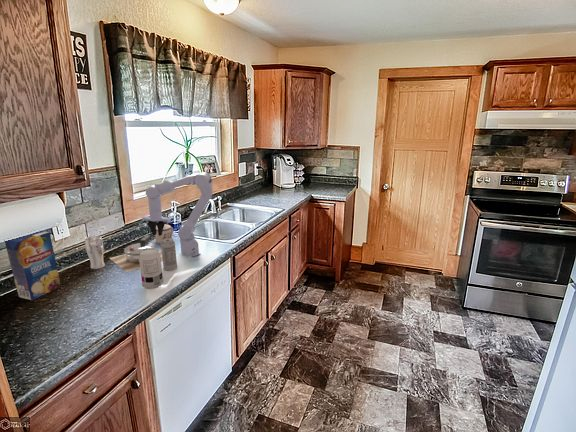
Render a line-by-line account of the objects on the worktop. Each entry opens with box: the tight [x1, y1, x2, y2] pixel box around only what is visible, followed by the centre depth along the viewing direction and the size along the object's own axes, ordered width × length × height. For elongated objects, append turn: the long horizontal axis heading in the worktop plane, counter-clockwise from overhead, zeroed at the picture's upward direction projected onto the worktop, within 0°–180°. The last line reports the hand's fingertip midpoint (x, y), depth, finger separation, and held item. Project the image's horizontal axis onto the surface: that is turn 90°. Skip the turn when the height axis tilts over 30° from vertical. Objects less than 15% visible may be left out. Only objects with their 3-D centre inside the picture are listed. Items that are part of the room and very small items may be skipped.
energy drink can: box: [160, 237, 178, 272], centre depth 151 cm, size 6×6×15 cm
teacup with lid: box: [154, 223, 174, 244], centre depth 188 cm, size 12×9×12 cm
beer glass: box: [84, 235, 106, 270], centre depth 153 cm, size 7×7×15 cm
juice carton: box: [4, 230, 62, 301], centre depth 131 cm, size 12×8×24 cm, turn 161°
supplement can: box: [139, 248, 164, 290], centre depth 138 cm, size 8×8×15 cm
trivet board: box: [109, 247, 163, 273], centre depth 164 cm, size 22×22×1 cm
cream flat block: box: [124, 252, 139, 264], centre depth 164 cm, size 20×13×4 cm, turn 36°
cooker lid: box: [123, 234, 155, 255], centre depth 165 cm, size 19×14×3 cm
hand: (157, 235), depth 169 cm, fingers open, 2 cm apart
